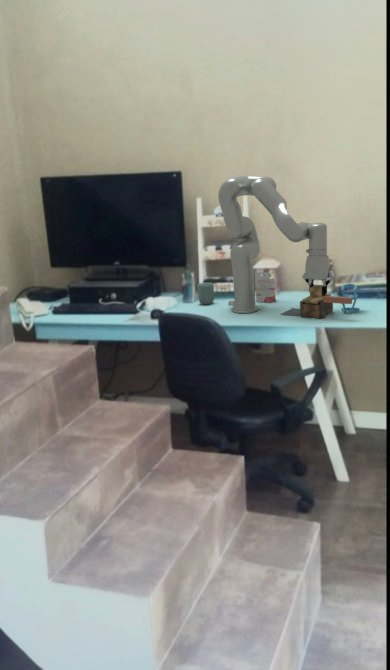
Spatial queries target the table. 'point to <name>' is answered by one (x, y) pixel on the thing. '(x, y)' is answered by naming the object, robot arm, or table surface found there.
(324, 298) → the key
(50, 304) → the table surface
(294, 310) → the mat
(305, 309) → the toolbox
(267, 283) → the ink cartridge box
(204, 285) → the cup
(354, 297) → the chair
